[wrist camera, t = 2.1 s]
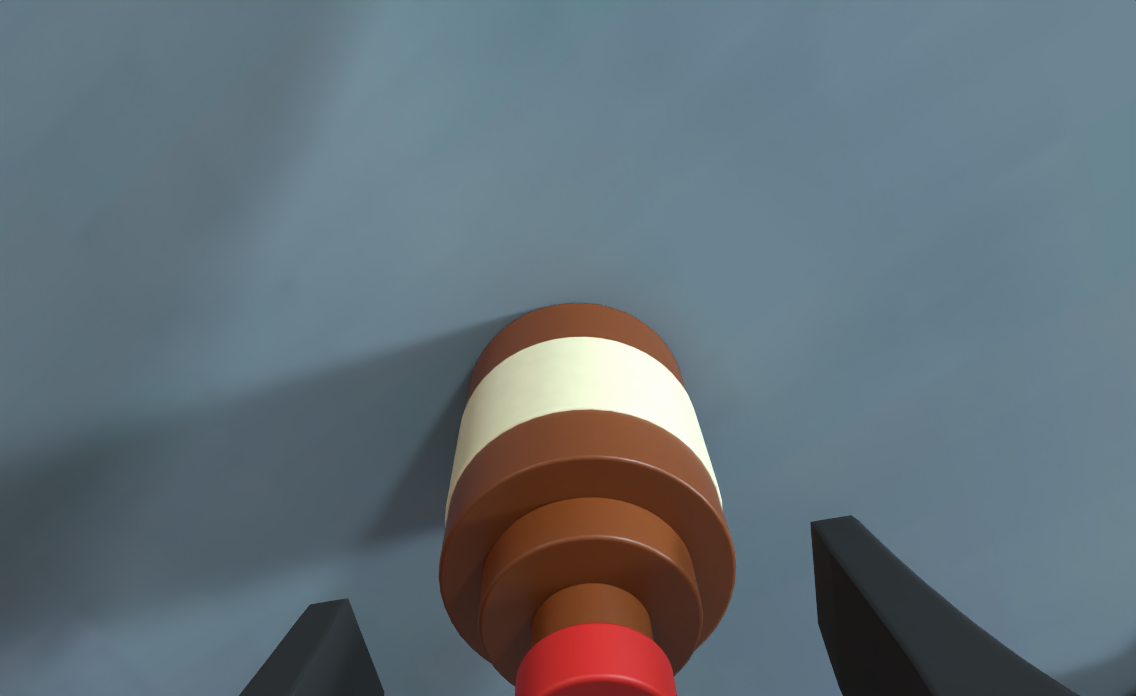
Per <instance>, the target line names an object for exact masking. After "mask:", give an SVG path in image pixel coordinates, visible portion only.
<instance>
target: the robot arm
mask: <svg viewBox="0 0 1136 696" xmlns="http://www.w3.org/2000/svg"><path fill="white" fill-rule="evenodd" d="M811 535H812V548H813V561H814V575H815V588H816V601H817V614H818V624H819V628H820V631H821V634H822V637H823V640H824V643H825V646H826V649H827V652H828V655H829V659H830V661H831V664H832V667H833V670H834V673H835V676H836V679H837V682H838V685H839V688H840V690H841V692H842V694H843V696H1079V695H1078V694H1076V693H1074V692H1073V691H1071V690H1070V689H1068V688H1066V687H1065V686H1063V685H1062V684H1060V683H1059V682H1057V681H1056V680H1054V679H1053V678H1051V677H1049V676H1048V675H1046V674H1045V673H1043V672H1042V671H1040V670H1039V669H1037V668H1036V667H1034V666H1033V665H1031V664H1030V663H1029V662H1027V661H1026V660H1024V659H1023V658H1021V657H1020V656H1019V655H1017V654H1016V653H1014V652H1013V651H1012V650H1010V649H1009V648H1007V647H1006V646H1005V645H1003V644H1002V643H1001V642H999V641H998V640H997V639H995V638H994V637H993V636H991V635H990V634H989V633H987V632H986V631H985V630H983V629H982V628H981V627H979V626H978V625H977V624H975V623H974V622H973V621H972V620H970V619H969V618H968V617H966V616H965V615H964V614H963V613H961V612H960V611H959V610H958V609H956V608H955V607H954V606H953V605H952V604H950V603H949V602H948V601H947V600H946V599H944V598H943V597H942V596H941V595H940V594H938V593H937V592H936V591H935V590H934V589H932V588H931V587H930V586H929V585H928V584H926V583H925V582H924V581H923V580H922V579H921V578H920V577H918V576H917V575H916V574H915V573H914V572H913V571H912V570H911V569H909V568H908V567H907V566H906V565H905V564H904V563H903V562H902V561H901V560H900V559H898V558H897V557H896V556H895V555H894V554H893V553H892V552H891V551H890V550H889V549H888V548H887V547H885V546H884V545H883V544H882V543H881V542H880V541H879V540H878V539H877V538H876V537H875V536H874V535H873V534H872V533H871V532H870V531H869V530H868V529H867V528H866V527H865V526H864V525H863V524H862V523H861V522H860V521H859V520H857V519H856V518H854V517H853V516H851V515H850V516H844V517H838V518H832V519H826V520H820V521H814V522H811ZM239 696H384V690H383V688H382V685H381V682H380V680H379V677H378V675H377V672H376V670H375V667H374V664H373V662H372V659H371V657H370V654H369V651H368V649H367V646H366V644H365V641H364V639H363V636H362V633H361V631H360V628H359V626H358V623H357V621H356V618H355V615H354V613H353V610H352V608H351V605H350V603H349V600H348V598H347V599H341V600H335V601H329V602H323V603H317V604H311V605H309V607H308V608H307V609H306V610H305V612H304V613H303V614H302V615H301V617H300V618H299V619H298V620H297V622H296V623H295V624H294V626H293V627H292V628H291V629H290V631H289V632H288V633H287V635H286V636H285V637H284V639H283V640H282V641H281V642H280V644H279V645H278V646H277V648H276V649H275V650H274V652H273V653H272V654H271V655H270V657H269V658H268V659H267V661H266V662H265V663H264V665H263V666H262V667H261V668H260V670H259V671H258V672H257V674H256V675H255V676H254V677H253V679H252V680H251V681H250V682H249V684H248V685H247V686H246V687H245V689H244V690H243V691H242V692H241V694H240V695H239Z"/></svg>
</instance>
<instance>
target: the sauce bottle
mask: <svg viewBox="0 0 1136 696" xmlns="http://www.w3.org/2000/svg"><path fill="white" fill-rule="evenodd" d="M735 575H736V560H735V551H734V547H733V543H732V539H731V536H730V532H729V529H728V526H727V523H726V519H725V516H724V513H723V509H722V499H721V495H720V491H719V487H718V484H717V481H716V477H715V474H714V471H713V468H712V465H711V461H710V458H709V455H708V452H707V449H706V446H705V442H704V439H703V436H702V433H701V430H700V426H699V423H698V420H697V417H696V414H695V411H694V408H693V405H692V403H691V401H690V398H689V396H688V394H687V393H686V390H685V387H684V383H683V380H682V377H681V374H680V370H679V368H678V365H677V363H676V361H675V358H674V356H673V355H672V353H671V351H670V350H669V348H668V346H667V345H666V344H665V343H664V341H663V340H662V339H661V338H660V337H659V336H658V335H657V334H656V333H655V332H654V331H653V330H652V329H651V328H650V327H648V326H647V325H646V324H644V323H643V322H641V321H640V320H638V319H637V318H635V317H633V316H631V315H629V314H627V313H625V312H622V311H619V310H617V309H614V308H611V307H606V306H602V305H597V304H587V303H566V304H559V305H553V306H549V307H545V308H542V309H538V310H536V311H533V312H531V313H529V314H526V315H524V316H522V317H520V318H519V319H517V320H515V321H513V322H512V323H510V324H509V325H508V326H507V327H505V328H504V329H503V330H501V331H500V332H499V333H498V334H497V335H496V336H495V337H494V338H493V339H492V340H491V341H490V343H489V344H488V345H487V347H486V348H485V349H484V351H483V352H482V354H481V356H480V357H479V359H478V361H477V363H476V366H475V368H474V371H473V373H472V377H471V382H470V386H469V392H468V398H467V403H466V408H465V411H464V413H463V416H462V421H461V425H460V430H459V436H458V441H457V447H456V453H455V458H454V464H453V470H452V476H451V481H450V487H449V493H448V498H447V504H446V513H445V533H444V539H443V545H442V551H441V557H440V564H439V584H440V592H441V596H442V599H443V603H444V607H445V609H446V611H447V613H448V615H449V617H450V620H451V622H452V624H453V625H454V627H455V628H456V630H457V631H458V633H459V634H460V636H461V637H462V638H463V639H464V640H465V641H466V642H467V643H468V645H469V646H470V647H471V648H472V649H473V650H475V651H476V652H477V653H478V654H479V655H480V656H482V657H483V658H484V659H486V660H487V661H489V662H490V663H492V665H493V666H494V667H495V669H496V670H497V671H498V672H499V673H500V674H501V675H502V676H503V677H504V678H505V679H506V680H507V681H509V682H510V683H511V684H512V685H514V686H515V696H677V693H676V687H675V681H674V676H675V675H676V674H677V673H678V672H679V671H680V670H681V669H682V668H683V667H684V665H685V664H686V663H687V662H688V660H689V659H690V657H691V655H692V654H693V652H694V651H695V650H696V649H697V648H698V647H699V646H700V645H701V644H702V643H703V642H704V641H705V640H706V639H707V638H708V637H709V636H710V634H711V633H712V632H713V631H714V629H715V628H716V627H717V625H718V624H719V622H720V620H721V619H722V617H723V615H724V614H725V612H726V609H727V607H728V604H729V602H730V600H731V596H732V592H733V588H734V584H735Z"/></svg>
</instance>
